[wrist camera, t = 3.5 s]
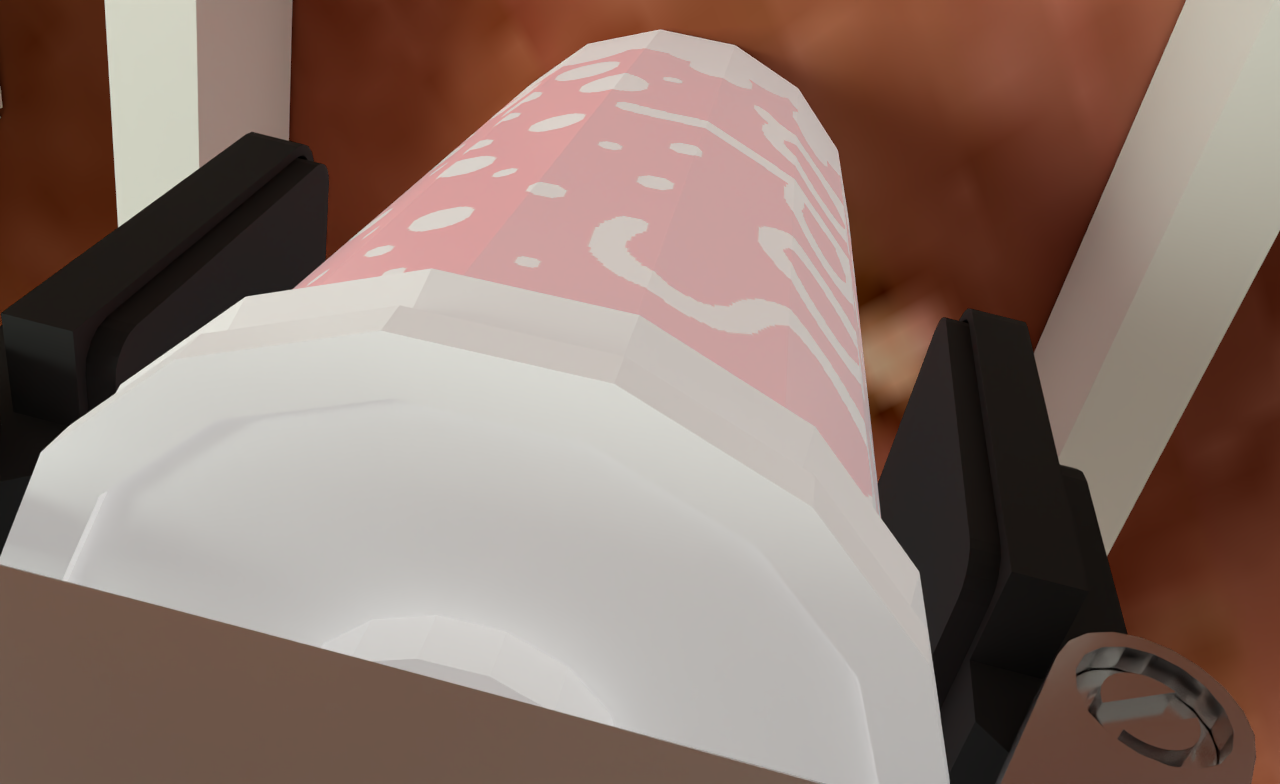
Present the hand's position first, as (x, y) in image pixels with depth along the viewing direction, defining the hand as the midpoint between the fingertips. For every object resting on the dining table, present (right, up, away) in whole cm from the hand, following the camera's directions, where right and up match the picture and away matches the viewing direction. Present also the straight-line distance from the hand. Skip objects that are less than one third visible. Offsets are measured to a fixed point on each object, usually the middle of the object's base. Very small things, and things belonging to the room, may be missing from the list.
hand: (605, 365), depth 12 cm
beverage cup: (+1, +2, +3) cm, 4 cm away
